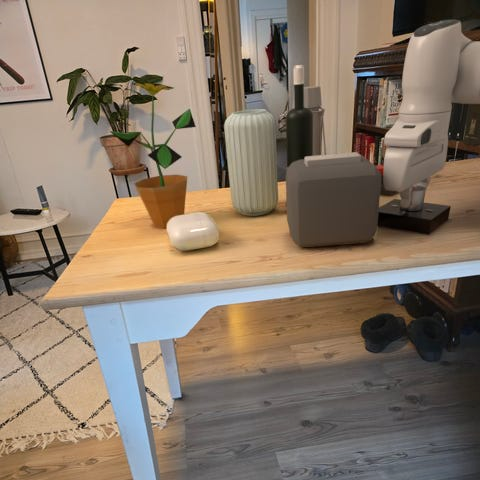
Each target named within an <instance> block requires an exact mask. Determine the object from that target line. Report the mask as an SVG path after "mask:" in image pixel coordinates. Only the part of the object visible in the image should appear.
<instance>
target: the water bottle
mask: <svg viewBox="0 0 480 480" xmlns="http://www.w3.org/2000/svg"><path fill="white" fill-rule="evenodd" d="M321 90H322V89H321V86H320V85H317V86H316V85H315V86H304V108H308V109H310V110H311V112H312V114H313V156H318V155H322V154H323V153H322V147H323V151H324V155H327V146H326V136H325V135H326V134H325V123H324V121H325V120H324V115H325V111H326V109H325V108H323V107H322V106H323V104H322V103H323V102H322V91H321ZM292 98H293V99H292V109H294V108H295V105H294V94H293V95H292Z"/></svg>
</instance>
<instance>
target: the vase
mask: <svg viewBox="0 0 480 480" xmlns="http://www.w3.org/2000/svg"><path fill="white" fill-rule="evenodd" d="M276 126H277V125H276V119H275V117H274V116H273V114H272V113H271V112H269V111H267V109H266V108H265V109H263V108H261V109H257V108H255V109H246V110H238V111H234V112H231V114H230V115H229V116H228V117H227V118H226V119H225V121H224V124H223V129H224V140H225V149H226V160H227V172H228V180H229V190H230V191H229V192H230V202H231V206H232V207H233V209H234V210H235V211H236V212H237V213H239V214H241V215H243V216H248V217H256V216H263V215H266V214H269V213H270V212H271V211H273V210H274V208H275V207H277V205H278V202H279V185H278V184H279V181H278V179H279V178H278V153H277V152H278V151H277V130H276V129H277V128H276Z"/></svg>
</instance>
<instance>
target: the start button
mask: <svg viewBox="0 0 480 480" xmlns="http://www.w3.org/2000/svg"><path fill="white" fill-rule="evenodd" d="M375 166H376V167H377V168H378V169H379V170H380V174H381V176H382V175H383V169H384V164H383V165H382V164H380V165H375Z"/></svg>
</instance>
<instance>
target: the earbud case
mask: <svg viewBox="0 0 480 480" xmlns="http://www.w3.org/2000/svg"><path fill="white" fill-rule="evenodd" d="M165 229H166V233H167V237H168V240H169V242H170V244H171V246H172V247H173V248H175V249H176V250H178V251H182V252H187V251H194V250H199V249H205V248H209V247H213V246H214V245H216V244H217V242H218V241H219V240H220V228H219V226H218V224H217V223H216V222H215V220H214V219H213V217H212V216H211V215H209V214H208V213H207V212H204V211H195V212H189V213H184V214H183V215H178V216H174V217H172V218H171V219H170V220H169V221H168V223H167V227H166V228H165Z"/></svg>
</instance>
